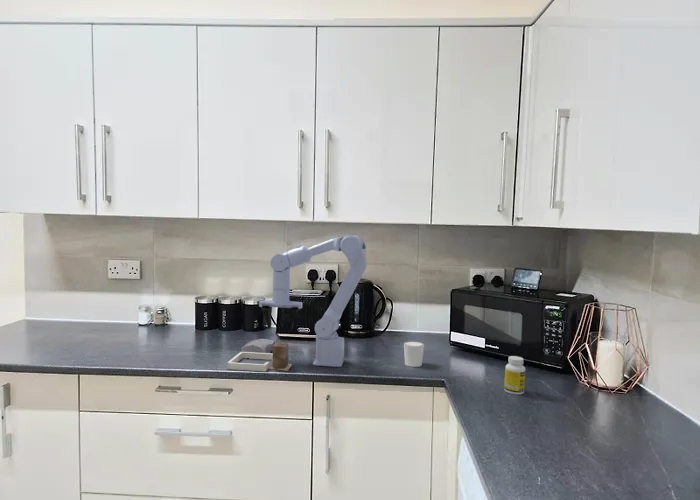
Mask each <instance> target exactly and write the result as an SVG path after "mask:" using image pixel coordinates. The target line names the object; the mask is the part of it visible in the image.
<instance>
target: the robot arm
mask: <svg viewBox="0 0 700 500" xmlns="http://www.w3.org/2000/svg"><path fill="white" fill-rule="evenodd" d="M330 251H336V252H342V253H343V254H344V255H345V257H346V258H347V261H348V263H349V266H350V267H349V269H348V270H347V273H346V274H345V276H344V278H343V280H342V282H341V284H340V286H339V288H338V290H337V292H336V294H335V295H334V297H333V299H332V300H331V303H330V304H329V307H328V308H327V310H326V311H325V312H324V314H323V316H322V318H320V319H319V320H318V321H316V323H315V324H314V332H315V334H316V337H315V359H314V361H313V363H312V365H313V366H323V367H336V368H337V367H339V368H341V367H342V365H343V363H344V361H345V338H344V337H343V336H342V337H341V336H339V334H338V333H337V330H338V329H339V328H340V327H339V326H340V319H341V318H342V315H343V312H344V310H345V308H346V307H347V305H348V303H349V301H350V300H351V297H352V296H353V294H354V292H355V290H356V288H357V286H358V284H359V282H360V281H361V279H362V277H363V275H364V273H365V271H366V269H367V267H368V265H367V263H368V262H367V246H366V243H365V241H364V240H363V238H362V236H360V235H358V234H352V235H351V234H349V235H345V236H339V237H334V238H331V239H328V240H326V241H325V240H324V242H320V243H318V244H314V245H313V246H311V247H309V246H306V245H302V244H299V245H296V247H295V248H293V249H290V250H287V249H286V250H283V253H276V254H275V255H273V256H272V257H271V259H270V267H271V269H272V294H271V295H272V297H271V298H272V300H268V299H267V300H264V299H263V300H259V302H258V307H260V308H261V309H260V310H261V313H262V315H263V316H264V319H265V323H266V327H267V329H272V312H273V308H284V309H289V330H293V329H294V324H295V320H296V319H297V316H298V313H299V311H300V310H301V309H303V302H302V301H294V300H293V301H291V300H290V291H291V290H290V284H291V283H290V282H291V281H290V280H291V279H290V278H291V276H290V275H291V273H290V272H291V270H290V269H291V268H295V267H298V266H300V265H305V264H306V263H309V262H311V259H312V258H313V257H314V256H318V255H321V254H324V253H327V252H330Z"/></svg>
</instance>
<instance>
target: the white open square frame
mask: <svg viewBox="0 0 700 500" xmlns="http://www.w3.org/2000/svg"><path fill="white" fill-rule="evenodd" d="M247 358H249V360H250V359H251V360H263V361H264V360H268V361H266V362H264V363H263V364H262V363H250V362H249V363H248V362H240V361H241V360H242V359H247ZM269 361H271V363H273V352H272V353H271V352H270V353H255V352H242V351H240V352H238V353H237V354H236V355H234V357H232V358H231V359H230V360H228V361H227V362H226V370H233V371H234V370H235V371H236V370H237V371H249V372H264V373H265V372H267V371H268V370H269V369H270V367H269V366H270V362H269Z"/></svg>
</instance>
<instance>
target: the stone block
mask: <svg viewBox="0 0 700 500" xmlns="http://www.w3.org/2000/svg"><path fill="white" fill-rule="evenodd" d="M275 344H276V340H275V339H274V340H272V339H267V338H266V339H265V338H260V339H259V338H258V339H253V340H250V341H249V342H246V344H245V345H243V346H242V347H241V349H240V350H241V352H255V353H271V352H273V345H275Z"/></svg>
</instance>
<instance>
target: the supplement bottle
mask: <svg viewBox="0 0 700 500" xmlns="http://www.w3.org/2000/svg"><path fill="white" fill-rule="evenodd" d="M507 360H508V363H507V364H506V365H505V369H504V385H503V386H504V387H503V388H504V391H505V392H506V393H508V394H511V395H523V394H525V386H526V385H525V384H526V383H525V382H526V367H525V366H524V358H523V357H522V356H518V355H511V356H508V359H507Z"/></svg>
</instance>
